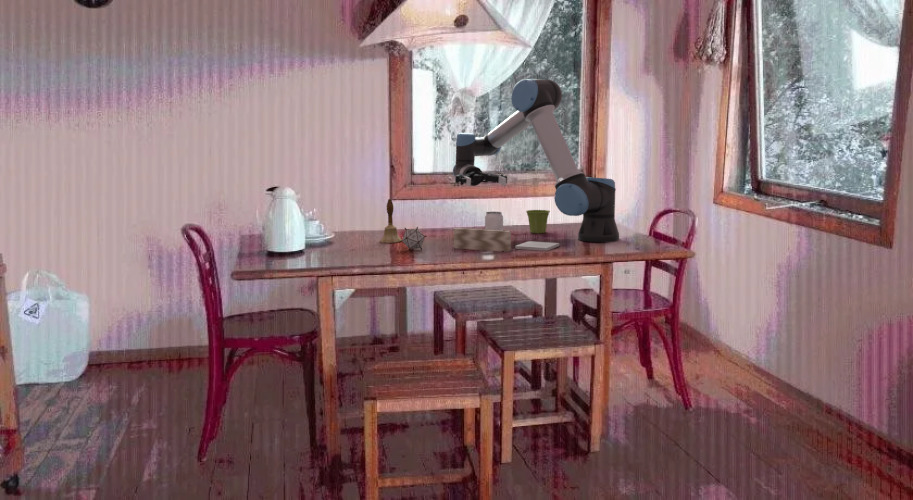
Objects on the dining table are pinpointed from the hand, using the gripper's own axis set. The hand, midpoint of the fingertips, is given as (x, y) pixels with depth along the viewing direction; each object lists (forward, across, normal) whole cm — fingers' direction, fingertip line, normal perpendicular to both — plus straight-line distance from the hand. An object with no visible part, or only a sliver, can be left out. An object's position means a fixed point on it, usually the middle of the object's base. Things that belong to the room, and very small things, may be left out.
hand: (487, 182), depth 314 cm
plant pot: (-16, -27, -22) cm, 38 cm away
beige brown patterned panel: (+18, +7, -22) cm, 29 cm away
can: (+10, 0, -22) cm, 24 cm away
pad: (+20, -13, -21) cm, 32 cm away
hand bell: (-12, +33, -24) cm, 43 cm away
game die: (+10, +30, -23) cm, 39 cm away
